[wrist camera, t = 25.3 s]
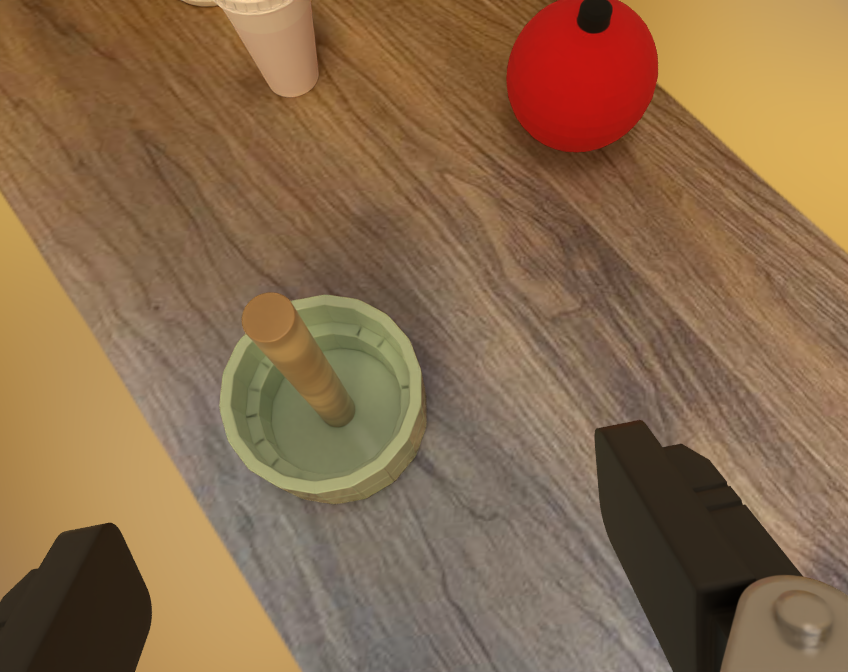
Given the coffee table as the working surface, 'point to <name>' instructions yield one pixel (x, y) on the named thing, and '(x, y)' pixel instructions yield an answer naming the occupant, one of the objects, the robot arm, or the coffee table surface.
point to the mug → (201, 2)
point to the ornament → (582, 73)
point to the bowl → (305, 430)
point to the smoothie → (278, 41)
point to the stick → (297, 356)
